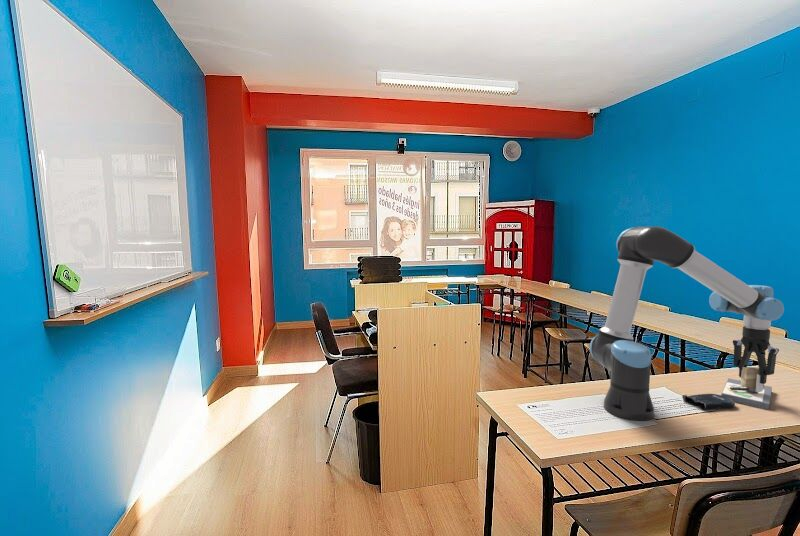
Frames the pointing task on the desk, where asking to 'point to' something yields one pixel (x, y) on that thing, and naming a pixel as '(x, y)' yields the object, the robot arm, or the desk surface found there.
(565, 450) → the desk surface
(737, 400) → the board
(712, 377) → the desk surface
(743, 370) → the wooden block with bar
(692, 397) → the dark grey hollow piece
